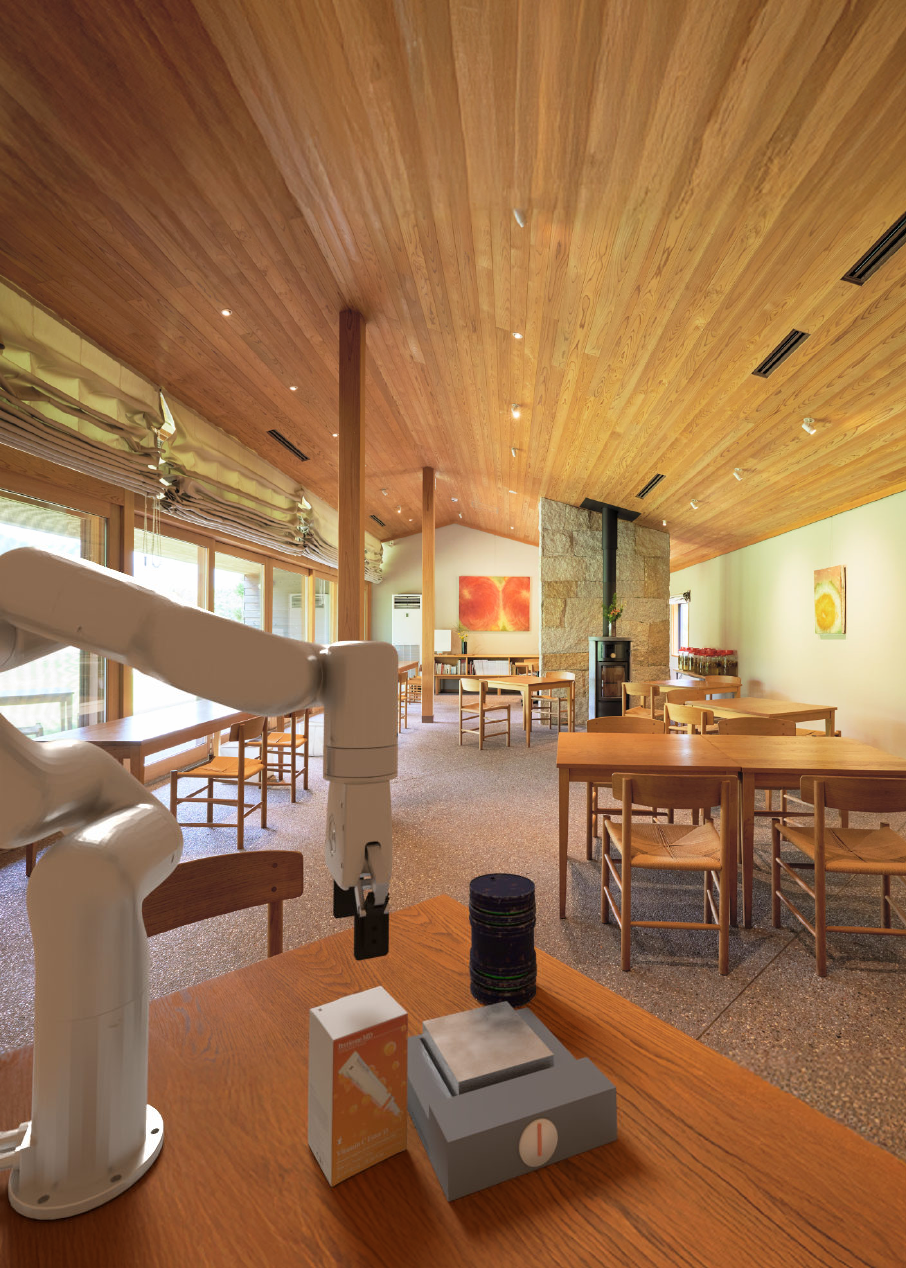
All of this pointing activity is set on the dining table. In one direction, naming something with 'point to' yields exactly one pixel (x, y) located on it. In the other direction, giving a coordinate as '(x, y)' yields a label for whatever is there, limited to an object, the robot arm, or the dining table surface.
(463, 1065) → the pan
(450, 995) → the dining table surface
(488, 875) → the navy cylindrical canister
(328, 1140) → the small box
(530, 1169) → the scale
